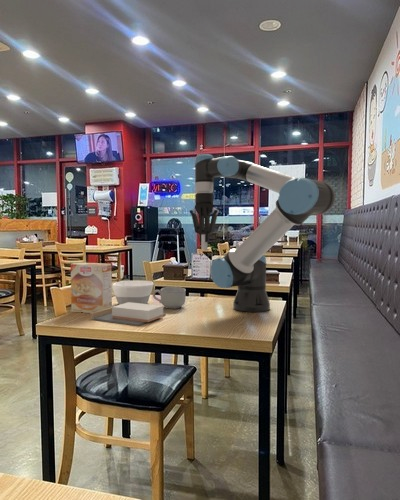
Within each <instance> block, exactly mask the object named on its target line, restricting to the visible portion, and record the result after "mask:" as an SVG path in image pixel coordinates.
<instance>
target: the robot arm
mask: <svg viewBox="0 0 400 500" xmlns="http://www.w3.org/2000/svg"><path fill="white" fill-rule="evenodd" d="M194 163H195V164H194V172H195V175H194V176H195V177H194V178H195V179H194V180H195V182H194V183H195V186H194V189H195V190H194V192H195V194H194V195H195V196H194V198H195V199H194V200H195V205H194V207H193V208H192V209H190V210H189V213H190V215H191V219H192V223H193V228H194V232H195V233H196V234H198V235H199V242H200V244H201V246H200V249H201V251H208V243H209V242H210V234H213V233H214V232H215V227H216V223H217V218H218V215H219V214H220V210H219V209H217V208H215V205H214V178H230V179H238V180H242V181H245V182H248V183H252V184H254V185H257V186H259V187H262V188H265V189H267V190H269V191H272V192H275V193H277V194H279V195H278V199H276V200H275V208H274V210H272V211H271V213H269V215H267V217H266V218H265V219H264V220H262V222H261V223H260V224H259V225H258V226H257V227H256V228H255V229H254V230H253V232H251V233H250V235H248V237H247V238H245V240H244V241H243V242H242V243H240V245H239V246H238V247H237V248H234V247H233V248H231V249H230V250H229V251H228V252H227V253H226V254H225V255H224V256H223V257H217V258H215V259H214V260H213V261H212V263H211V265H210V277H211V280H212V282H213V283H214V284H215V285H216V286H217V287H219V288H222V289H230V288H235V287H237V292H236V294H235V297H234V300H233V304H232V305H233V309H234V310H236V311H240V312H245V313H259V312H267V311H269V310H270V309H271V303H270V300H269V296H268V293H267V289H266V288H267V260H266V259H267V257H266V256H265V254H266V253H267V252H268V251H269V250H270V249H272V247H273V246H274V245H275V244H277V243H278V242H279V241H280V240H281V239H282V238H283V236H284V235H285V234H286V233H287V232H289V231H290V230H291V229H292V227H293V226H301V225H302V224H303V223H304V222H306V221H307V220H308V219H309V218H310V217H311V216H312V215H313V216H314V215H315V216H317V215H318V216H319V215H323V214H326V213H327V212H329V211H331V209H332V208H333V207H334V205H335V202H336V192H335V189H334V188H333V186H332V185H330V184H329V183H328V182H326V181H323V180H316V179H310V178H306V177H299V178H298V177H295V176H292V175H289V174H285V173H282V172H280V171H276V170H273V169H271V168H268V167H264V166H261V165H259V164H255V163H254V162H252V161H248V160H241V159H238V158H236V157H235V156H233V155H228V156H227V155H224V156H221V157H216V158H215V157H214V156H213V155H212V154H210V153H209V154H208V153H207V154H204V153H203V154H201V153H200V154H197V155H196V156H195V161H194ZM197 214H198V215H197Z"/></svg>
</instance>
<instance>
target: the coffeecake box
mask: <svg viewBox="0 0 400 500" xmlns="http://www.w3.org/2000/svg"><path fill="white" fill-rule="evenodd" d="M112 278H113V277H112V263H104V262H103V263H101V262H100V263H98V262H73V263H70V295H71V296H70V297H71V298H70V299H71V300H70V301H71V305H70V306H71V312H72V313H81V312H83V314H91V313H93V312H96V311H100V310H103V309H107V308H110V307H113V304H112V303H113V297H112V296H113V293H112V292H113V291H112V290H113V288H112V285H113V283H112Z"/></svg>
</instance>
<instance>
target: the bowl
mask: <svg viewBox="0 0 400 500" xmlns="http://www.w3.org/2000/svg"><path fill="white" fill-rule="evenodd" d="M154 284H155V283H154V282H153V281H152V280H121V281H116V282H114V283H112V290H113V293H114V296H115V299H116V301H117V305H120V304H124V303H128V302H131V303H141V304H148V303H149V299H150V297H151V294H152V292H153V288H154Z"/></svg>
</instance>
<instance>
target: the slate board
mask: <svg viewBox="0 0 400 500" xmlns="http://www.w3.org/2000/svg"><path fill="white" fill-rule="evenodd" d="M112 307H113V306H112ZM112 307H110V308H107V309H103V310H100V311H96V312H93V313H90V320H91V321H99V322H107V323H115V324H121V325H128V326H129V325H130V326H135V327H139V326H141V325H145V324H147V323H148V322H143V321H135V320H127V319H120V318H112ZM165 316H166V313H163V317H165Z"/></svg>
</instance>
